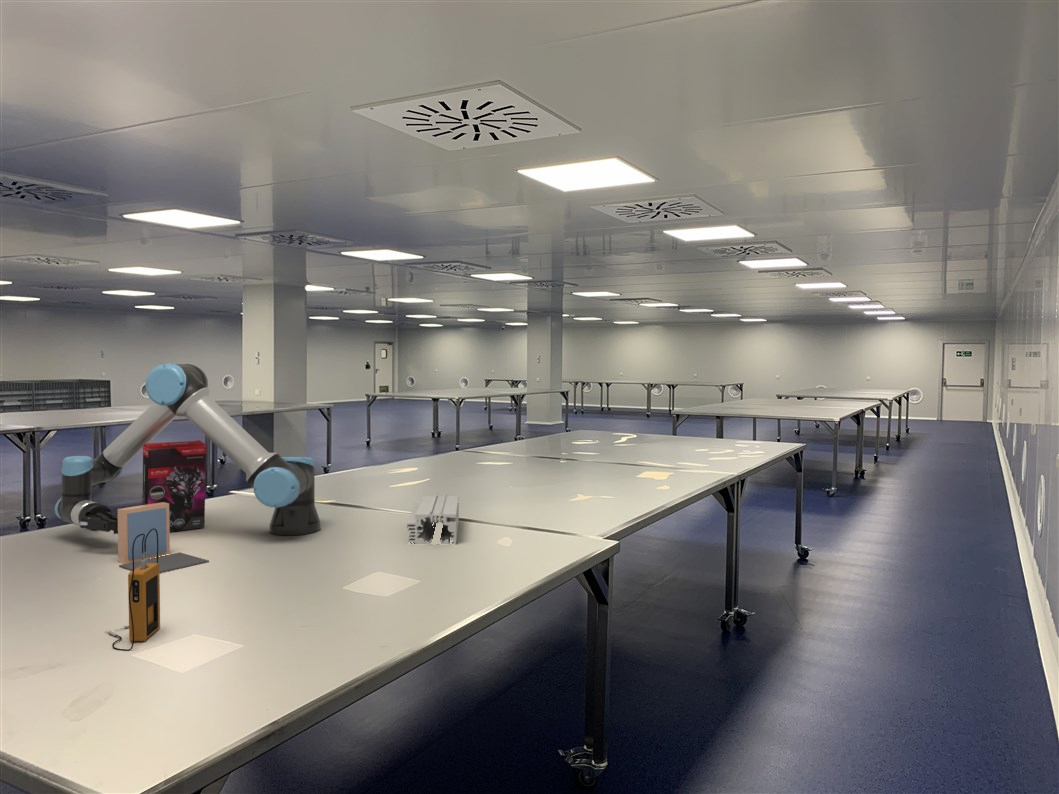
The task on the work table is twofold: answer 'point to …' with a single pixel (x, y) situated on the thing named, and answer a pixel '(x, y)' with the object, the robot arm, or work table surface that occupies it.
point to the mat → (169, 562)
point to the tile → (143, 531)
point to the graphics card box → (176, 481)
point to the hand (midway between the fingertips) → (134, 530)
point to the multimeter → (143, 598)
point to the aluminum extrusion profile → (433, 507)
